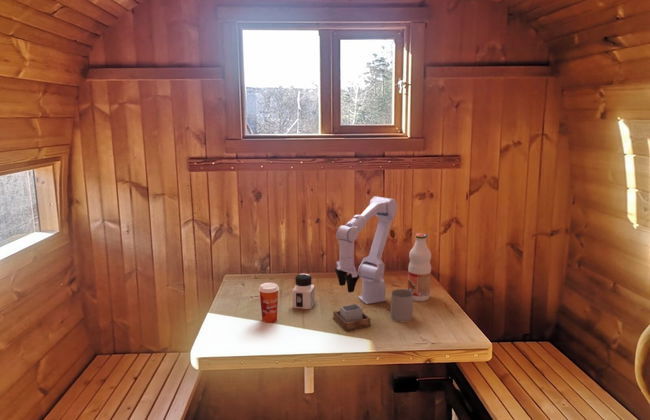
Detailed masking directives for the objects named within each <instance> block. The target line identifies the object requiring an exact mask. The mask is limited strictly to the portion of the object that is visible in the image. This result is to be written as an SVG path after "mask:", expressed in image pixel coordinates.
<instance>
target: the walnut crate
mask: <svg viewBox="0 0 650 420" xmlns="http://www.w3.org/2000/svg"><path fill="white" fill-rule="evenodd" d="M332 312H333V313H332V315H333V317H332V318H333V320H334V321H335V322H336V323H337V324H338V325H339V326H340V327H341V328H342V329H343V330H344V331H345V332H347V331H348V332H349V331H352V330H357V329H362V328H367V327H370V326H371V318H370V317H369V316H368V315H367V314H366V313H365V312H363V311H362V320H357V321H352V322H346V321H344V320H343V319H342V318H341V317H340V310H334V311H332Z"/></svg>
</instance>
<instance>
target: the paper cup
mask: <svg viewBox="0 0 650 420" xmlns="http://www.w3.org/2000/svg"><path fill="white" fill-rule="evenodd" d="M279 290H280V287H279V285H278V284H277V283H275V282H263V283H262V284H260V285H259V288H258V291H259V299H260V300H259V301H260V309H261V310H260V311H261V320H262V321H263V323H267V324H272V323H276V322H277V320H278V307H279V306H278V302H279Z"/></svg>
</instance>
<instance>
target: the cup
mask: <svg viewBox="0 0 650 420" xmlns="http://www.w3.org/2000/svg"><path fill="white" fill-rule="evenodd" d="M390 298H391V300H390V301H391V302H390V304H391V305H390V318H391V319H392V320H394V321H396V322H400V323H405V322H406V323H407V322H411V320H413V309H414V307H413V306H414V305H413V304H414V300H413V292H411V291H409V290H408V289H405V288H404V289H403V288H399V289H398V288H397V289H393V290H392V291H391V296H390Z"/></svg>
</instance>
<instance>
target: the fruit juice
mask: <svg viewBox="0 0 650 420" xmlns="http://www.w3.org/2000/svg"><path fill="white" fill-rule="evenodd" d="M414 239H415V242H414V245H413V247H412V248H411V249H410V250H409V253H408V254H409V255H408V257H409V263H408V270H407V271H408V272H407V290H409V291H411V292H413V302H414V301H415V302H425V301H428V300H429V299H430V294H431V275H432V274H431V273H432V265H431V259H432V252H431V250H430V249H429V248H428V245H427V239H428V235H427V234H426V233H421V232H417V233H415V235H414Z"/></svg>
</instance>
